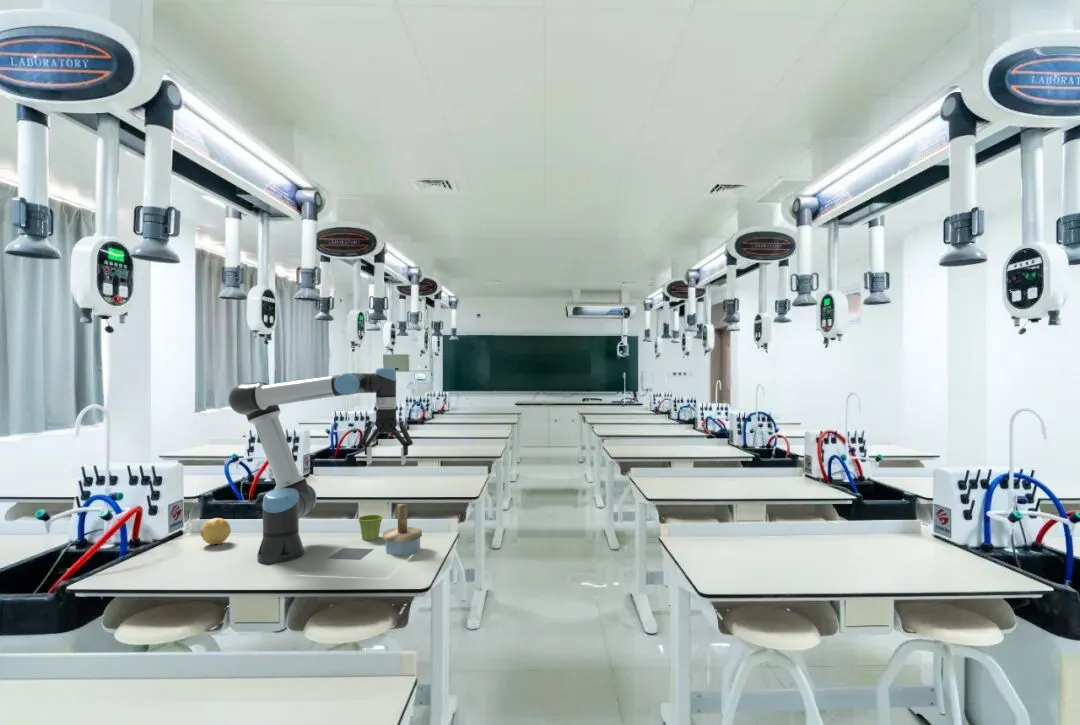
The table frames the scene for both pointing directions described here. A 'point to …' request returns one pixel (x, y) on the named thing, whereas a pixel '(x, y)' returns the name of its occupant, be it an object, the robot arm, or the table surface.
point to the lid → (402, 528)
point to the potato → (215, 531)
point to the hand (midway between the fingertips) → (386, 464)
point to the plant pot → (370, 526)
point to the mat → (350, 553)
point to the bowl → (402, 547)
